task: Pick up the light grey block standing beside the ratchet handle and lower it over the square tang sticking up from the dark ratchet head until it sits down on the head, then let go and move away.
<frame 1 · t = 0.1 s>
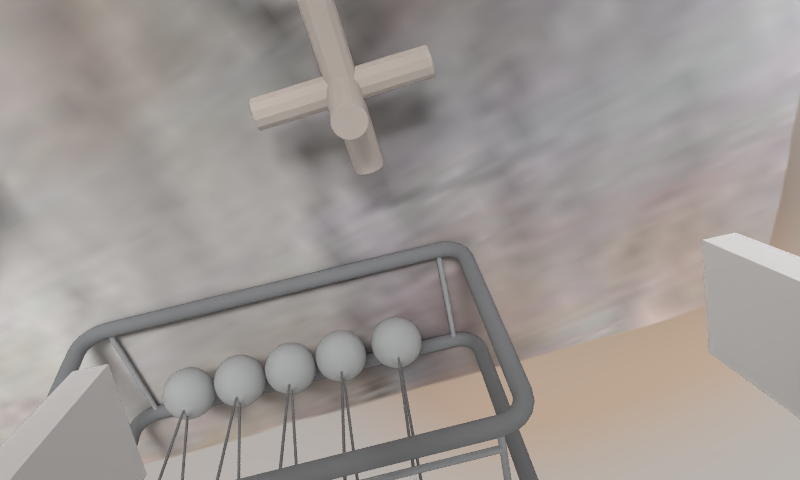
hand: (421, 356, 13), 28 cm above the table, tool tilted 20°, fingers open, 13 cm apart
newton's cradle: (290, 328, 48), on the table
beige peg jack: (337, 60, 37), on the table
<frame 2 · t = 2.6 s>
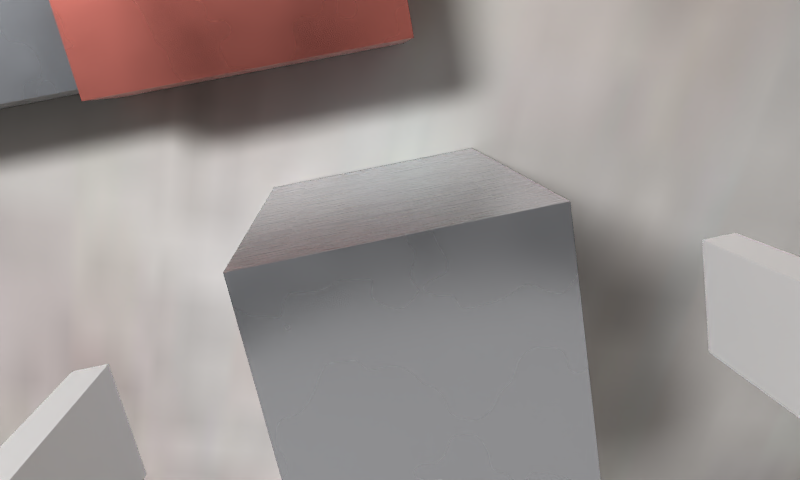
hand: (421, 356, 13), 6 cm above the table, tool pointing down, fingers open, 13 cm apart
light grey block: (392, 262, 19), on the table
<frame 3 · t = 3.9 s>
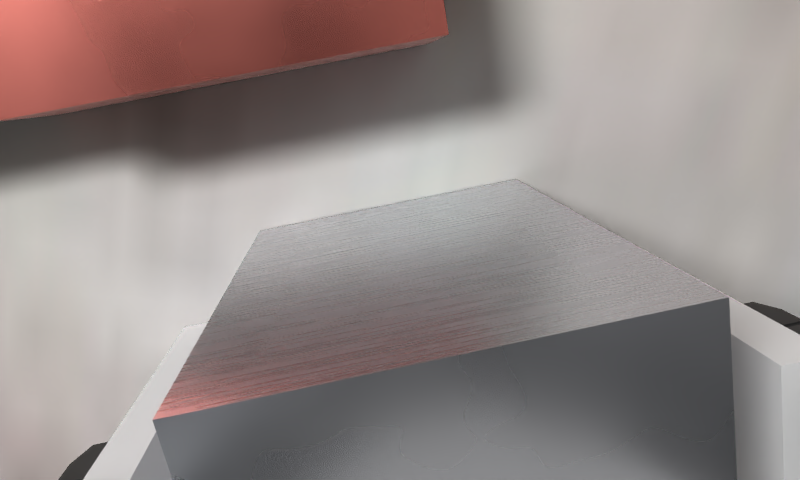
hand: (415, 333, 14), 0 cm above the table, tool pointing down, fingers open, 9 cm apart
light grey block: (412, 324, 15), on the table
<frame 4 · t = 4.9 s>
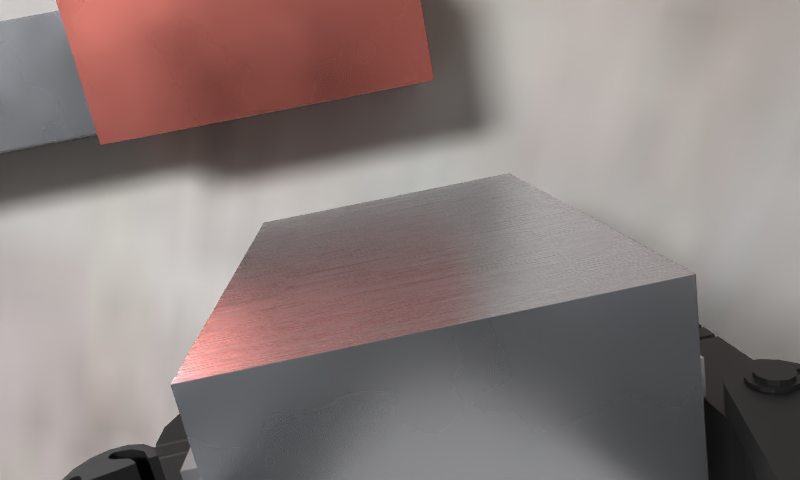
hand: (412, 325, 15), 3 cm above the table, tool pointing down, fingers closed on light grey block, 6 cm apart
light grey block: (410, 312, 15), point 3 cm above the table, touching gripper
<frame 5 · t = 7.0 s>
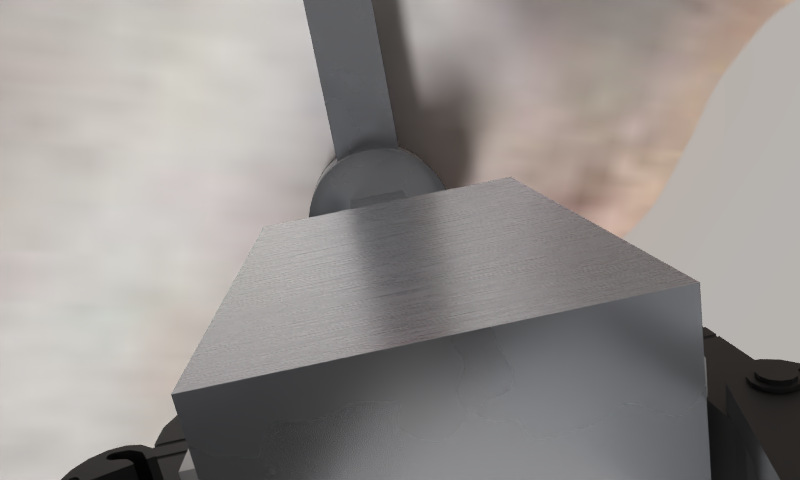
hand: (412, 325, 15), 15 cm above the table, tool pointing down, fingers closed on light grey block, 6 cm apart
light grey block: (411, 316, 15), point 15 cm above the table, touching gripper
ratchet: (377, 208, 30), on the table
when the fingers open (4 cm above the table, at t = 8.9 s): light grey block drops 1 cm, resting on ratchet.
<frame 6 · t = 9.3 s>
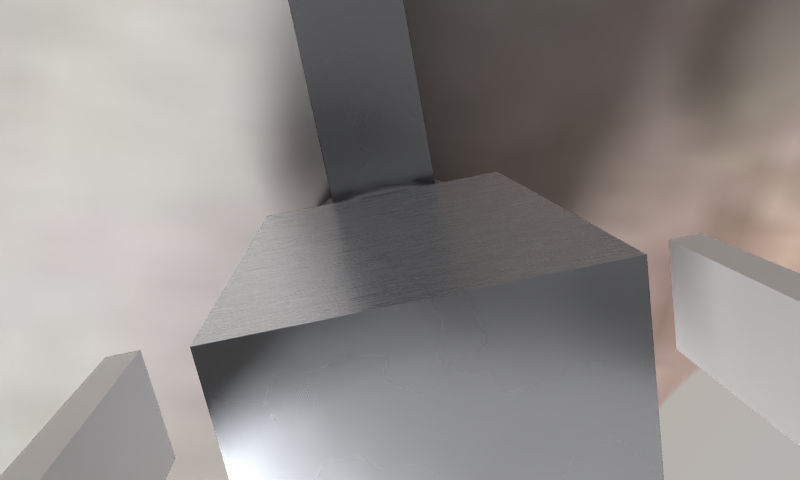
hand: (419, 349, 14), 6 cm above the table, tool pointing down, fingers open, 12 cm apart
light grey block: (403, 301, 16), point 3 cm above the table, touching ratchet
ratchet: (397, 272, 19), on the table
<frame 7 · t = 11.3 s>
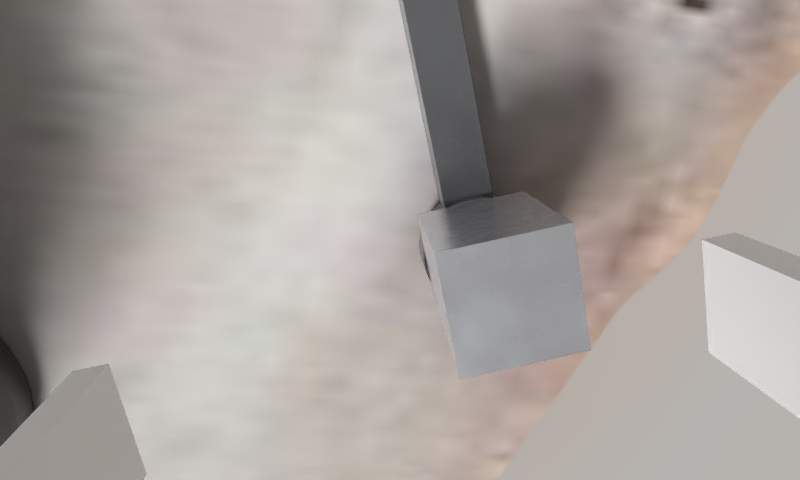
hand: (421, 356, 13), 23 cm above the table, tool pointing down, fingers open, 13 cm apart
light grey block: (479, 253, 34), point 3 cm above the table, touching ratchet
ratchet: (471, 242, 37), on the table
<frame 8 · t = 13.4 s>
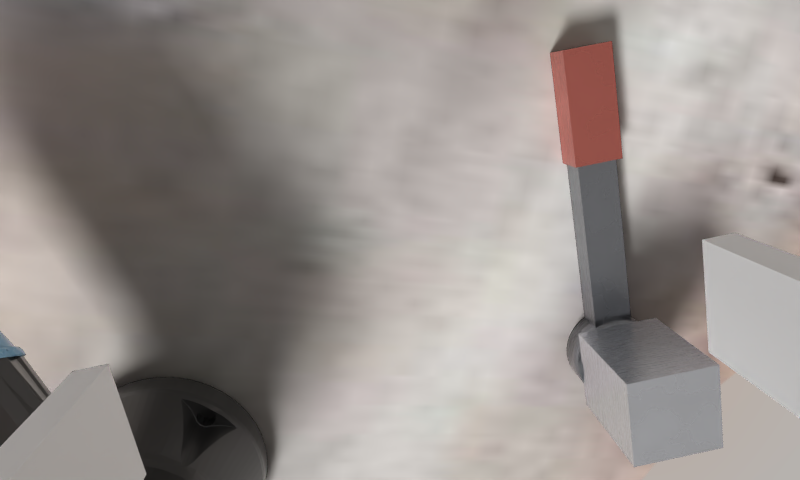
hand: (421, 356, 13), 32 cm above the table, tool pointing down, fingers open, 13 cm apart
light grey block: (620, 361, 46), point 3 cm above the table, touching ratchet
ratchet: (605, 346, 49), on the table
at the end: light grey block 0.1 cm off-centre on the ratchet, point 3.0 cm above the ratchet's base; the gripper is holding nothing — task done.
